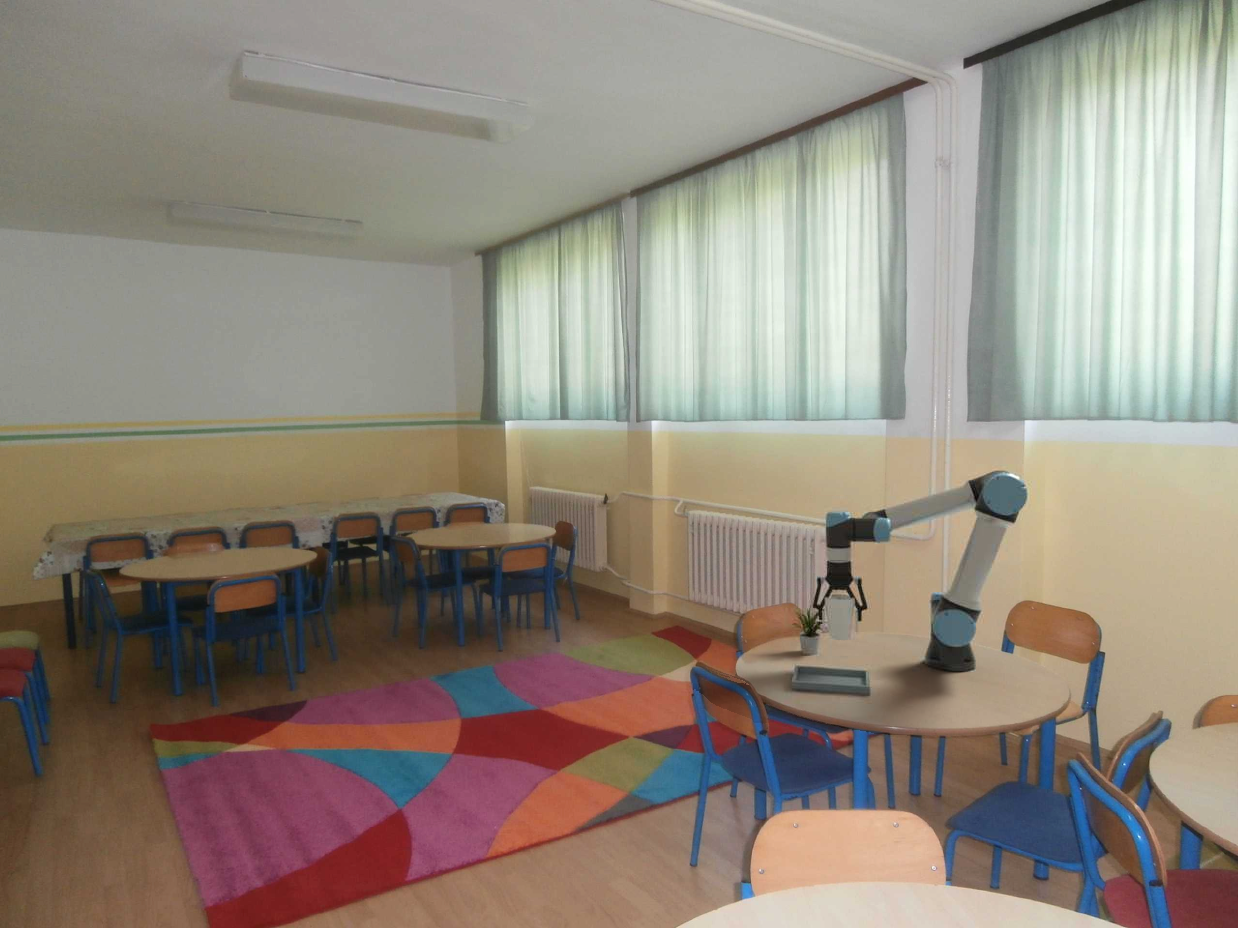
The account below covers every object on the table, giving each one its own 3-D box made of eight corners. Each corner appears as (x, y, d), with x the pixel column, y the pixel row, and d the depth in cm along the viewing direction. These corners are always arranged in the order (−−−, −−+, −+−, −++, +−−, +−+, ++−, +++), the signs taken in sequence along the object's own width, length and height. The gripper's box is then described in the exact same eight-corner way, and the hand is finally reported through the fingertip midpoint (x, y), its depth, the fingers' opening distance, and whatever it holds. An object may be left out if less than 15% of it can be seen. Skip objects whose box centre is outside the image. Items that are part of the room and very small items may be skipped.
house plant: (788, 659, 275) (788, 610, 274) (781, 647, 289) (781, 600, 288) (832, 658, 274) (832, 609, 273) (823, 647, 288) (823, 600, 287)
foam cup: (853, 633, 268) (852, 593, 267) (858, 641, 258) (857, 599, 258) (823, 633, 268) (822, 593, 268) (827, 641, 259) (826, 600, 259)
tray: (869, 678, 254) (869, 670, 254) (869, 695, 239) (869, 686, 239) (795, 673, 260) (795, 665, 260) (791, 689, 245) (791, 681, 245)
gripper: (875, 558, 263) (876, 628, 264) (803, 557, 269) (805, 626, 270) (875, 562, 255) (877, 635, 257) (802, 561, 262) (804, 632, 263)
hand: (840, 630), depth 263 cm, fingers closed on foam cup, 9 cm apart
